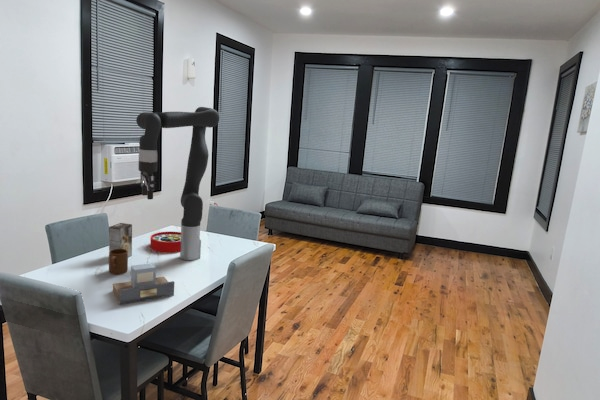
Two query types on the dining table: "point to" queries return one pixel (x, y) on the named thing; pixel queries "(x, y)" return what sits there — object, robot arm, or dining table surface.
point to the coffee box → (121, 237)
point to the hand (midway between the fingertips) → (147, 197)
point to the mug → (118, 261)
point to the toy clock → (166, 242)
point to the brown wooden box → (143, 291)
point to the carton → (143, 275)
